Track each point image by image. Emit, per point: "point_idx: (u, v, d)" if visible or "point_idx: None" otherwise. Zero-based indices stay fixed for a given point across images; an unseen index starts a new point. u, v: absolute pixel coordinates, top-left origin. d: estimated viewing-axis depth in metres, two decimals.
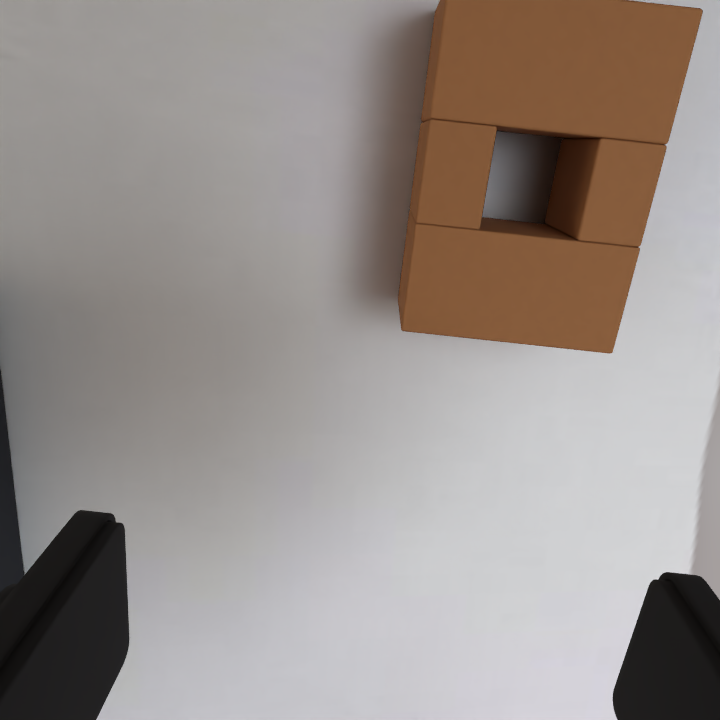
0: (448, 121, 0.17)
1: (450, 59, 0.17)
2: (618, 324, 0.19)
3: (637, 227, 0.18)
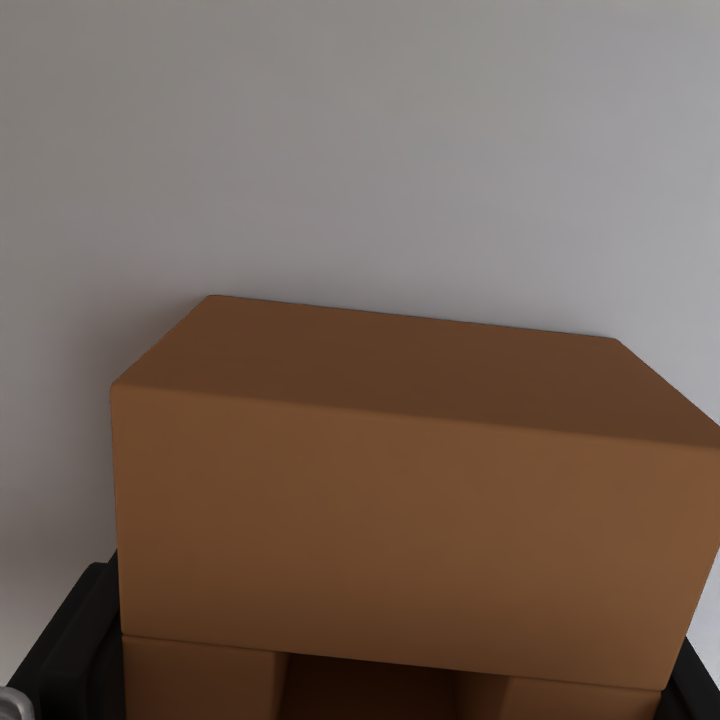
0: (162, 643, 0.08)
1: (144, 537, 0.07)
2: None
3: None
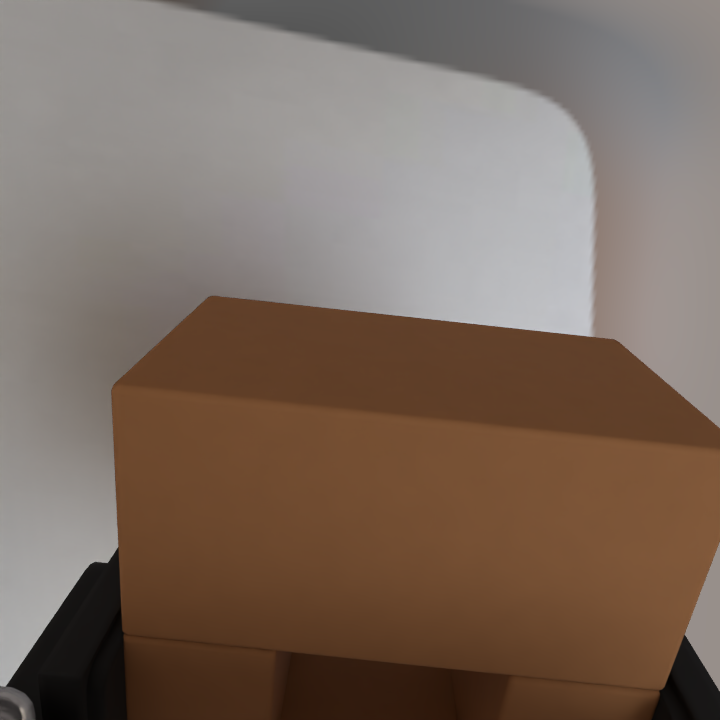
0: (163, 642, 0.08)
1: (145, 537, 0.07)
2: None
3: None
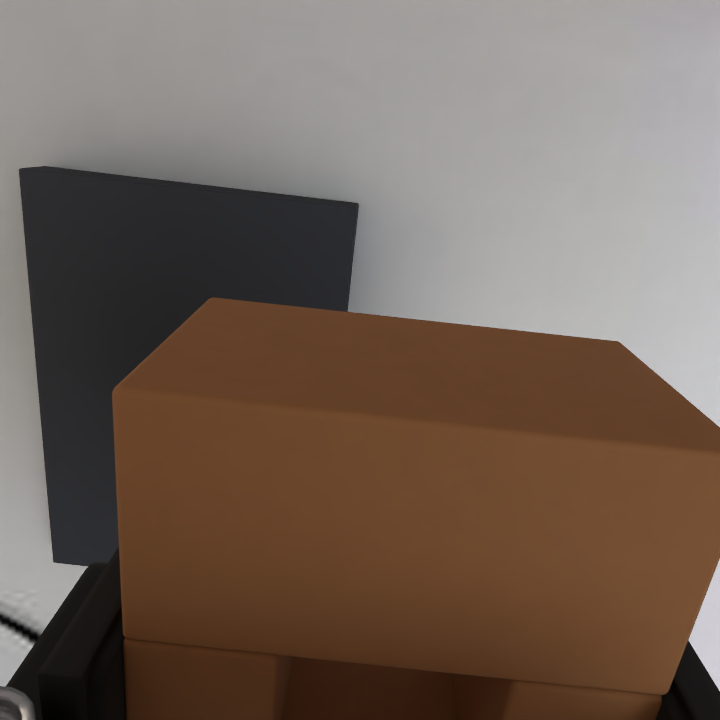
0: (164, 647, 0.08)
1: (146, 541, 0.07)
2: None
3: None
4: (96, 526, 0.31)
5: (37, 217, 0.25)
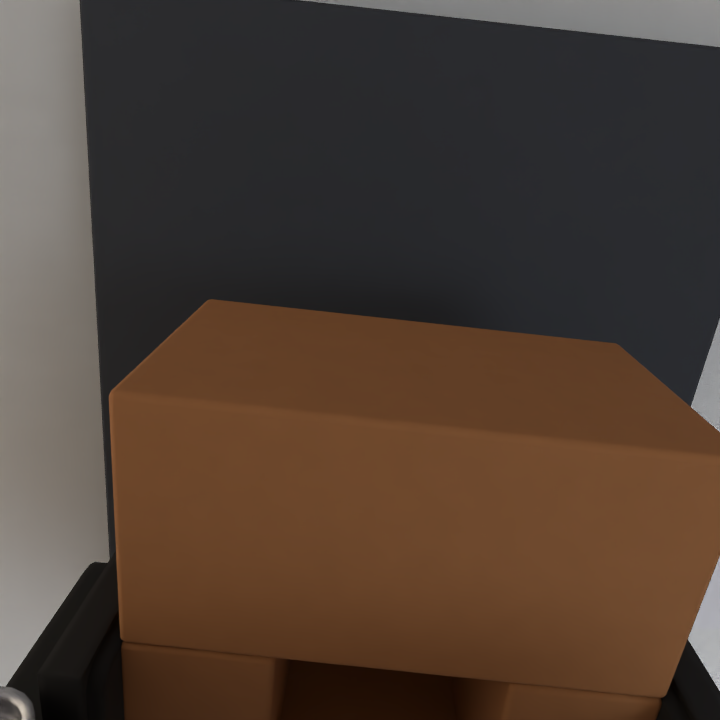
0: (161, 649, 0.08)
1: (143, 544, 0.07)
2: None
3: None
4: None
5: (113, 88, 0.12)
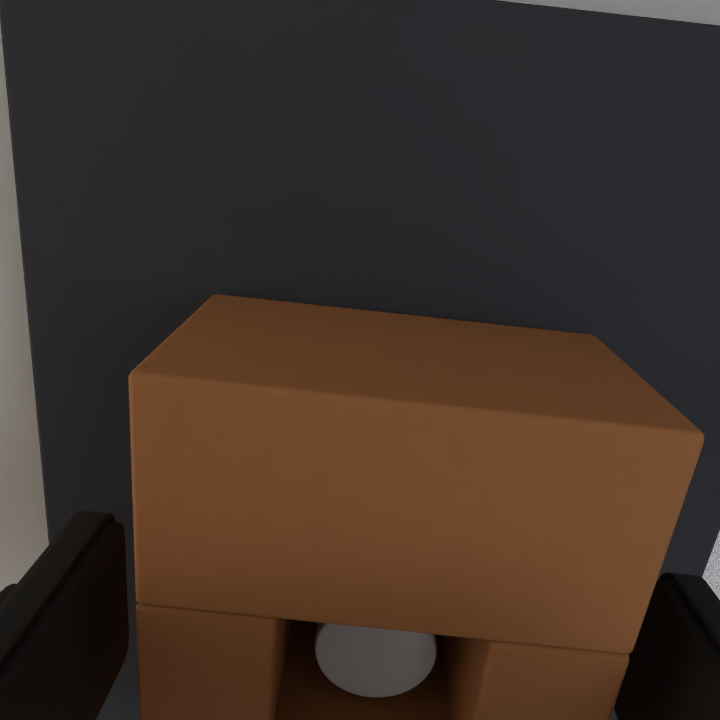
0: (173, 611, 0.08)
1: (158, 512, 0.08)
2: None
3: None
4: None
5: (42, 85, 0.10)
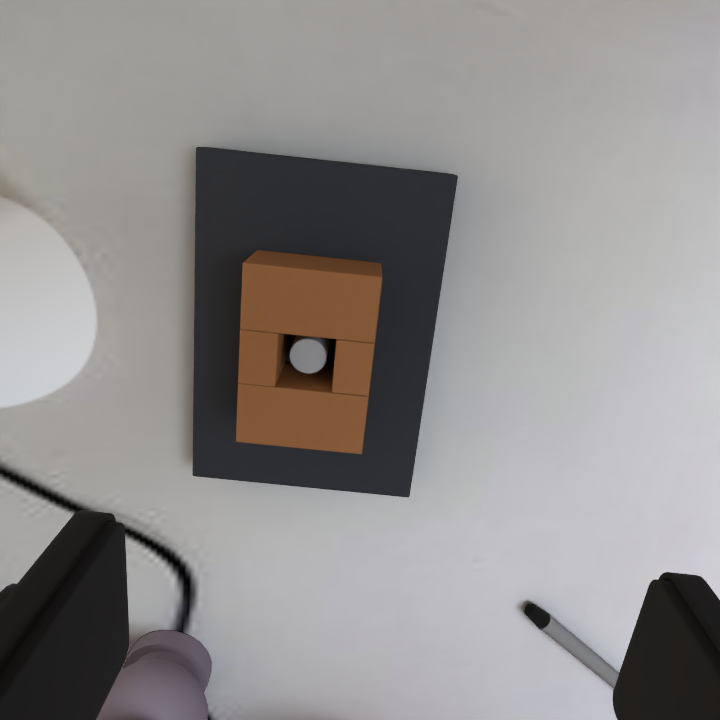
0: (250, 331, 0.31)
1: (248, 300, 0.30)
2: (362, 438, 0.33)
3: (364, 386, 0.32)
4: (231, 443, 0.37)
5: (207, 185, 0.32)
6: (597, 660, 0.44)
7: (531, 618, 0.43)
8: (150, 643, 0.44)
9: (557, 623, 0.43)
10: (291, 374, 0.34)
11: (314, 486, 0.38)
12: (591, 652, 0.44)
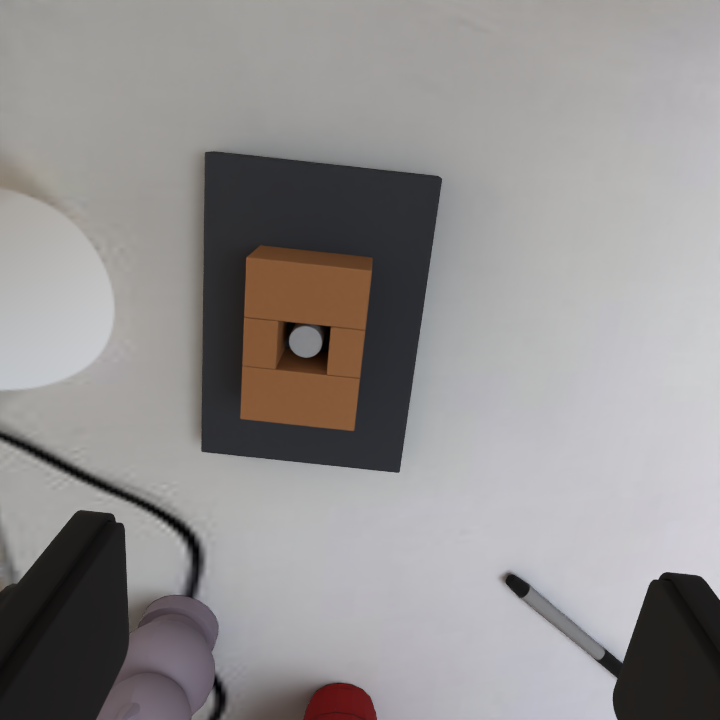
0: (253, 318, 0.34)
1: (251, 291, 0.34)
2: (354, 416, 0.36)
3: (356, 369, 0.35)
4: (237, 422, 0.41)
5: (214, 187, 0.36)
6: (574, 627, 0.48)
7: (512, 588, 0.46)
8: (162, 606, 0.48)
9: (536, 593, 0.47)
10: (290, 358, 0.37)
11: (312, 462, 0.42)
12: (568, 620, 0.48)
